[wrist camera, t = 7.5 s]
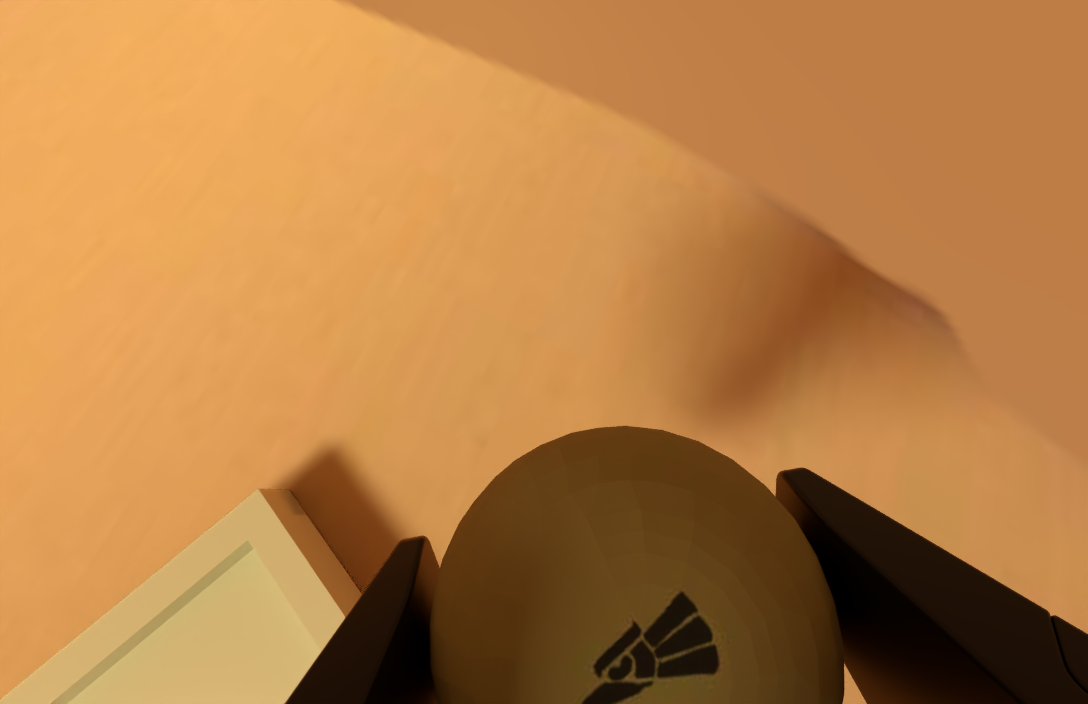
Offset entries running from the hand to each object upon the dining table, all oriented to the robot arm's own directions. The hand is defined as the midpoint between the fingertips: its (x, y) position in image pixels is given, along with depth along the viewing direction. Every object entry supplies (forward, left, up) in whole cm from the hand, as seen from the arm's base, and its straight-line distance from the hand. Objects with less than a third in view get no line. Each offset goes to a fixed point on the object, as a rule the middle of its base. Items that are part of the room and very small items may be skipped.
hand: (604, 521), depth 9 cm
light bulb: (-1, +1, -7) cm, 7 cm away
